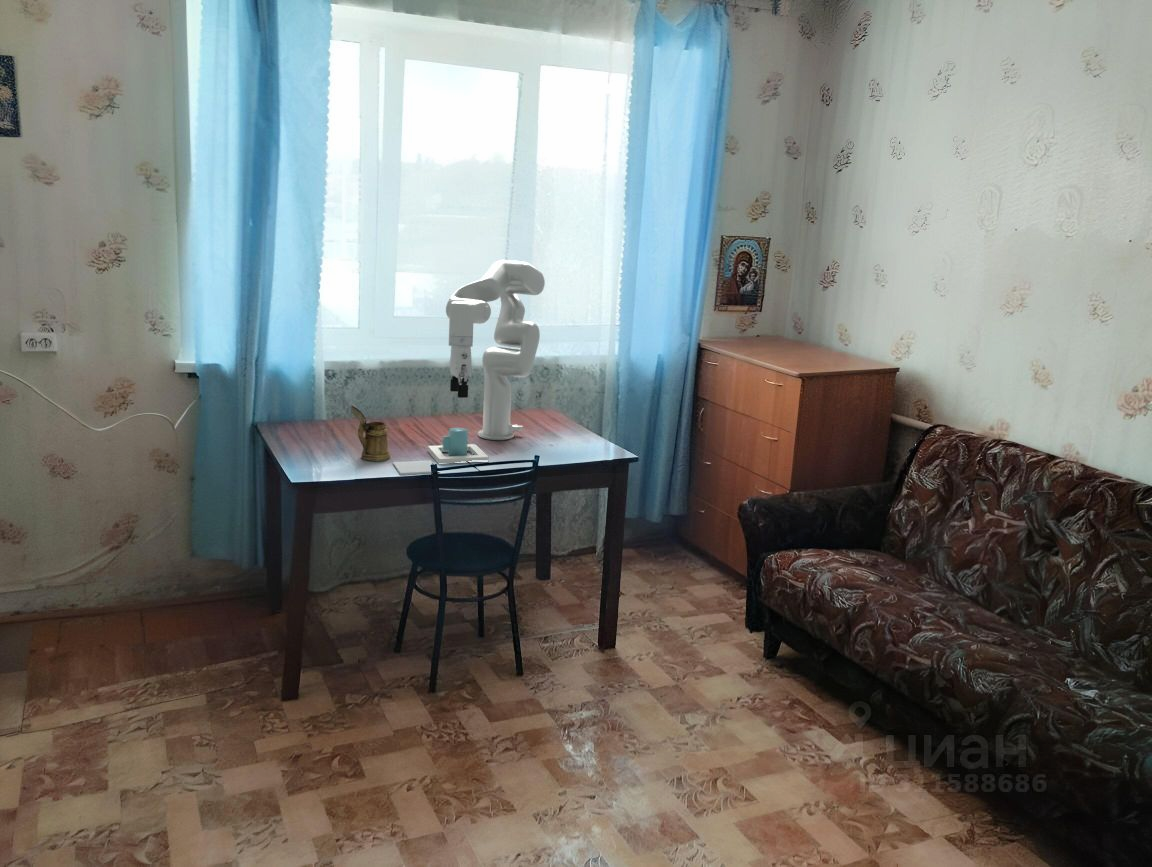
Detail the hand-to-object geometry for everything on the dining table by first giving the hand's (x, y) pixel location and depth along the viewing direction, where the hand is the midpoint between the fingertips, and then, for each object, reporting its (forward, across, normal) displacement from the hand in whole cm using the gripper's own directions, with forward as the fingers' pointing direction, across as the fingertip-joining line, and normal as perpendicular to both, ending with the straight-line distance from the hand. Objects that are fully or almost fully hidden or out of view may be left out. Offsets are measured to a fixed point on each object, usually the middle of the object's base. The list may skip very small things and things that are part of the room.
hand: (458, 394), depth 314 cm
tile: (+21, -11, +16) cm, 28 cm away
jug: (+21, 0, 0) cm, 21 cm away
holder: (+21, 0, 0) cm, 21 cm away
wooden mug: (+21, +2, +28) cm, 35 cm away
